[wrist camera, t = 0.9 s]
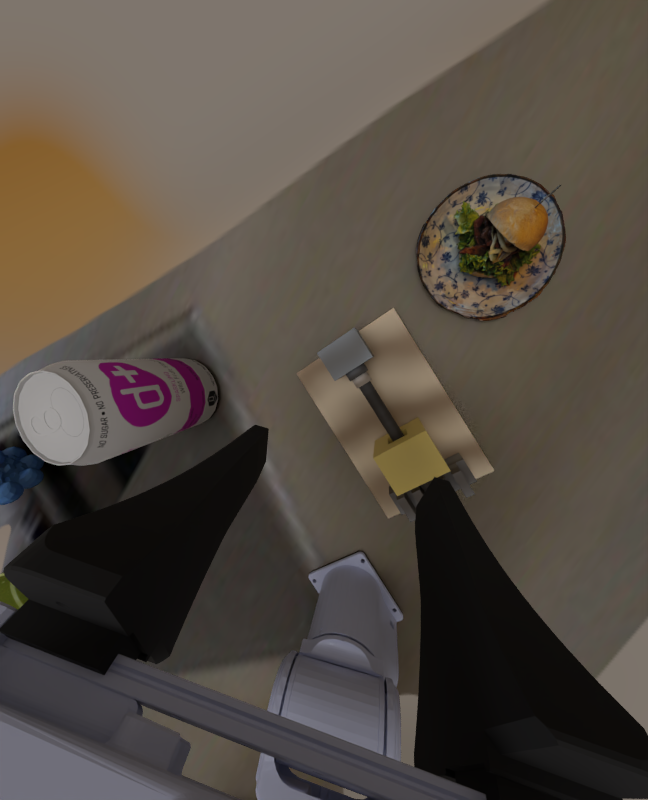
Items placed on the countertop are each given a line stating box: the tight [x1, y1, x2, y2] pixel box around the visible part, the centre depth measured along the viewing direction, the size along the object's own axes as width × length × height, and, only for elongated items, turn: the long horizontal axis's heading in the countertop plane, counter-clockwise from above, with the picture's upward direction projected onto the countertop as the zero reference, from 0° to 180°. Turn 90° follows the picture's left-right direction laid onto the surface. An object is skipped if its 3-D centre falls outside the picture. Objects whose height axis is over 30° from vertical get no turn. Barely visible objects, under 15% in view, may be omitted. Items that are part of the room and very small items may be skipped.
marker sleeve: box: [373, 418, 450, 496], centre depth 26 cm, size 4×5×5 cm
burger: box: [416, 174, 566, 321], centre depth 22 cm, size 12×12×8 cm
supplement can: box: [13, 358, 218, 466], centre depth 27 cm, size 8×8×15 cm
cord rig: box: [297, 308, 494, 522], centre depth 27 cm, size 19×12×5 cm, turn 33°
